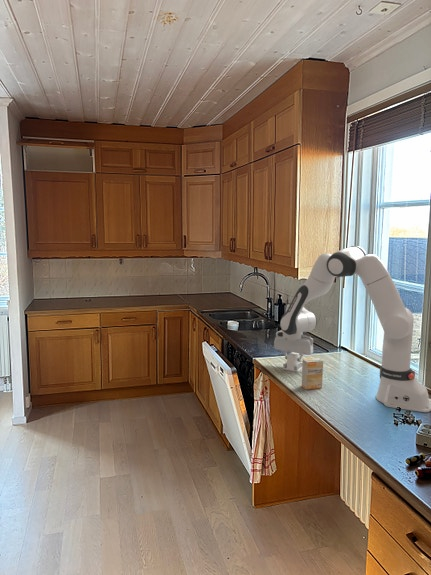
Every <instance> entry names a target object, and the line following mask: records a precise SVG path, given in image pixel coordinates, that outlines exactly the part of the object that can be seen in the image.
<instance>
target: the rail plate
mask: <svg viewBox="0 0 431 575" xmlns="http://www.w3.org/2000/svg"><path fill="white" fill-rule="evenodd" d="M282 365H283V367H282V370H286V371H291V372H295V373H299V372H300V371H302V362H299V364H298V365H297V366H295V370H292V369H287V361H286V362H284V363H283V364H282Z"/></svg>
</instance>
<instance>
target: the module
mask: <svg viewBox="0 0 431 575" xmlns="http://www.w3.org/2000/svg"><path fill="white" fill-rule="evenodd" d="M299 357H300V355H299V353H294V352H289V353H287V359H286V362H287V369H292V370H295V366H297V365H298V364H300V362H298V361H297V358H299Z"/></svg>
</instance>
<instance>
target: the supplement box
mask: <svg viewBox="0 0 431 575" xmlns="http://www.w3.org/2000/svg"><path fill="white" fill-rule="evenodd" d="M301 363H302V369H301V387H302V388H303V389H304V388H305V389H304V390H315V389H323V376H324V375H323V374H324V373H323V372H324V360H323V359H321V358H319V357H315V358H302V360H301Z"/></svg>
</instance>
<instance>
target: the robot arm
mask: <svg viewBox="0 0 431 575" xmlns="http://www.w3.org/2000/svg"><path fill="white" fill-rule="evenodd" d="M310 271H311V272H310V273H309V275H308V277H307V279H306V280H305V282H304V283H303V284H302V285H301V286H300V287H298V289H297V291H296V292H295V295H294V296H293V298H292V299H291V300H292V301H291V303H287V305H286V308H285V313H284V314H283V315H282V316H281V319H280V320H279V326H280V327H279V328H281V330H280V329H279V331H276V333H275V337H274V342H273V347H274V349H275V350H276V351H282V353H283V355H284V359H285V360H287V355H288V352H289V353H292V352H294V353H299V358H297V361H298V362H299V363H302V359H303V356H304V355H306V356H311V355H312V354H313V353H314V338H312V337H311V336H309V335H305V334H303V333H306V332H307V333H308V332H310V331H314V330H315V329H316V327H317V325H318V318H317V316H316V315H315V313H313V312H312V311H309V310H308V309H307V308H306V307H305V305H307V303H308V302H310V301H311V300H312V301H313V300H314V299H317V298H319V297H321V296H324V295H326V294H327V293H328V292H329V291H330V290H331V288H332V286H333V285H334V282H335V279H336V278H343V277H352V276H354V275H356V276H358V277H359V279H360V280H361V282H362V284H363V286H364V289H365V290H366V292H367V294H368V296H369V298H370V301H371V302H372V304H373V307H374V310H375V313H376V315H377V317H378V320H379V323H380V325H381V328H382V329H383V331H384V334H383V343H382V348H381V349H382V352H381V354H382V355H381V364H380V367H379V368H380V369H379V384H378V388H377V392H376V393H375V394H376V395H375V399H376V400H377V401H379V402H380V403H382V404H383V405H384V406H385V407H387V408H394V409H398V408H397V407H400V408H401V409H400V410H406V411H413V412H419V413H430V412H431V398H429V392H428V389H427V388H426V387H425V386H424V385H423V384H422V383H421V382H419V381H418V380H417V378H415V375H416V370H415V369H414V370H413V369H412V368H411V359H412V358H411V357H412V356H411V355H412V347H413V345H412V344H413V333H414V324H415V323H414V322H415V321H414V319H415V318H414V315H413V313H412V311H411V310H410V309H409V308H407V307H406V306H405V305H404V301H403V300H402V298H401V295H400V292H399V290H398V288H397V286H396V284H395V282H394V280H393V278H392V276H391V274H390V272H389V271H388V269H387V267H386V266H385V264H384V263H383V261H382V260H381V259H380V257H379V256H377V255H376V254H372V253H371V254H368V253H367V252H366V250H365V249H364V248H363V247H362V246H358V245H352V246H349V247H346V248H341V249H339V250H338V251H336V252H333V253H332V254H331V253H326V252H325V253H321V254H320V255H319V256H318V257H317V258H316V260H315V261H314V264H313V266H312V268H311V270H310Z"/></svg>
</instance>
